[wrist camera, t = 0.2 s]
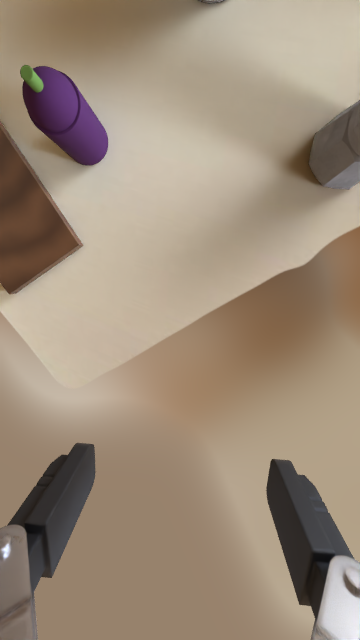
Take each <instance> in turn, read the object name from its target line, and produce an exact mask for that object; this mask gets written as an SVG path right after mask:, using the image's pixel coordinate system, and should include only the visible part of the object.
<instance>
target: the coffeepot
mask: <svg viewBox="0 0 360 640" xmlns="http://www.w3.org/2000/svg"><path fill="white" fill-rule="evenodd" d="M309 166H310V168H311V169H312V171H313V174H314V176H315V177H316V178H317V180H318V181H319V182H320V183H321V184H322V186H324V187H330V188H334V189H350V188H352V187H353V186H354V185H356V184H357V183H358V182H359V181H360V100H359V101H358V102H356V103H355V104H353V105H352V106H350V107H349V108H347V109H346V110H344V111H343V112H342V113H340V114H339V115H338V116H336V117H335V118H334V119H333V120H331V121H330V122H329V123H328V124H327V125H325V126H324V127H323V128H322V129H321V130H319V131H318V132H317V133H316V134H315V137H314V141H313V145H312V148H311V153H310V160H309Z"/></svg>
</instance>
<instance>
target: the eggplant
mask: <svg viewBox="0 0 360 640" xmlns="http://www.w3.org/2000/svg"><path fill="white" fill-rule="evenodd" d="M20 74H21V77H22V78H23V80H24V82H23V99H24V102H25V105H26V108H27V110H28V113H29V116H30V118H31V120H32V121H33V123H34V124H35V126H36V127H37V128H38V129H40V130H41V131H42V132H43V133H44V134H45V135H46V136H48V137H49V138H50V139H51V140H52V141H53V142H54V143H56V144H57V145H58V146H59V147H60V148H61V149H63V150H64V151H65V152H66V153H67V154H68V155H69V156H71V157H72V158H73V159H74V160H75V161H77V162H78V163H80V164H82V165H94V164H96V163H98V162H100V161H101V160H102V159H103V157H104V156H105V154H106V152H107V148H108V137H107V133H106V131H105V129H104V127H103V126H102V124H101V123H100V121H99V120H98V118H97V117H96V115H95V114H94V112H93V111H92V109H91V108H90V106H89V105H88V103H87V102H86V100H85V99H84V97H83V96H82V94H81V93H80V91H79V90H78V88H77V87H76V85H75V84H74V82H73V81H72V80H71V79H70V78H69V77H68V76H67V75H66V74H64V73H62V72H60V71H57V70H55V69H53V68H50V67H47V66H39V67H35V68H33V69H32V68H31V67H30V66H28V65H24V66H23V67H22V68H21V70H20Z"/></svg>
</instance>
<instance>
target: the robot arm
mask: <svg viewBox="0 0 360 640" xmlns="http://www.w3.org/2000/svg"><path fill="white" fill-rule="evenodd" d="M198 1H201V2H204V3H218V2H222V1H224V0H198ZM94 452H95V451H94V445H93V444H84V443H76V444H75V445H74V447H73V448H72V450H71V451H70V453H69V454H68V455H61V456H60V457H58V458H57V459H56V460H55V461H54V462H52V463H51V464H50V466H49V467H48V468H47V470H46V471H45V473H44V474H43V477H41V478H40V480H39V481H38V483H37V485H36V486H35V487H34V488H33V490H32V491H31V493H30V494H29V495H28V497H27V498H26V500H25V501H24V503H23V504H22V505H21V507H20V508H19V510H18V511H17V512H16V514H15V515H14V517H13V518H12V520H11V521H10V522H9V524H8V525H7V526H5V527H2V528H0V640H38V635H37V623H36V611H35V599H34V590H35V588H36V586H37V584H38V582H39V580H40V578H41V577H48V578H52V576H53V574H54V571H55V569H56V567H57V565H58V563H59V560H60V558H61V556H62V554H63V551H64V549H65V547H66V545H67V542H68V540H69V538H70V535H71V533H72V531H73V529H74V527H75V524H76V522H77V520H78V517H79V516H80V513H81V511H82V509H83V506H84V504H85V502H86V500H87V497H88V495H89V493H90V491H91V489H92V486H93V483H94V479H95V453H94ZM267 500H268V504H269V508H270V511H271V514H272V517H273V520H274V524H275V527H276V530H277V533H278V537H279V540H280V543H281V546H282V550H283V553H284V556H285V559H286V562H287V566H288V569H289V572H290V575H291V579H292V582H293V585H294V588H295V592H296V595H297V598H298V601H299V604H300V605H307V606H311V607H312V610H313V613H314V616H315V622H314V626H313V631H312V635H311V640H360V563H359V562H358V561H356V560H355V559H354V557H353V556H352V554H351V552H350V551H349V548H348V547H347V545H346V543H345V541H344V539H343V537H342V535H341V534H340V532H339V530H338V528H337V526H336V524H335V523H334V521H333V519H332V517H331V515H330V513H328V510H327V508H326V506H325V504H324V502H322V499H321V497H320V495H319V493H318V491H317V489H316V488H315V486H314V485H313V484H312V483H311V482H310V481H309V480H308V479H307V478H306V477H305V475H298V474H297V473H296V471H295V468H294V466H293V464H292V462H291V461H289V460H277V459H272V460H271V463H270V469H269V476H268V482H267Z"/></svg>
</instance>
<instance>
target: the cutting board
mask: <svg viewBox="0 0 360 640" xmlns="http://www.w3.org/2000/svg"><path fill="white" fill-rule="evenodd" d="M82 246H83V244H82V243H81V241H80V240H79V238H78V237H77V235H76V234H75V232H74V231H73V229H72V228H71V226H70V225H69V223H68V222H67V220H66V219H65V217H64V216H63V214H62V213H61V211H60V210H59V208H58V207H57V205H56V204H55V202H54V201H53V199H52V198H51V196H50V195H49V193H48V192H47V190H46V189H45V187H44V186H43V184H42V183H41V181H40V180H39V178H38V177H37V175H36V174H35V172H34V171H33V169H32V168H31V166H30V165H29V163H28V162H27V160H26V159H25V157H24V156H23V154H22V153H21V151H20V150H19V148H18V147H17V145H16V144H15V142H14V141H13V139H12V138H11V136H10V135H9V133H8V132H7V130H6V129H5V127H4V126H3V124H2V123H1V121H0V283H1V284H2V285H3V287H4V288H5V289H6V291H7V292H8V293H9V294H14V293H17V292H18V291H20V290H21V289H22V288H24V287H25V286H27V285H28V284H30V283H31V282H32V281H34V280H35V279H37V278H38V277H39V276H41V275H42V274H44V273H45V272H47V271H48V270H49V269H51V268H52V267H54V266H55V265H56V264H58V263H59V262H61V261H62V260H64V259H65V258H66V257H68V256H69V255H71V254H72V253H73V252H75V251H76V250H78V249H79V248H81V247H82Z"/></svg>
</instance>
